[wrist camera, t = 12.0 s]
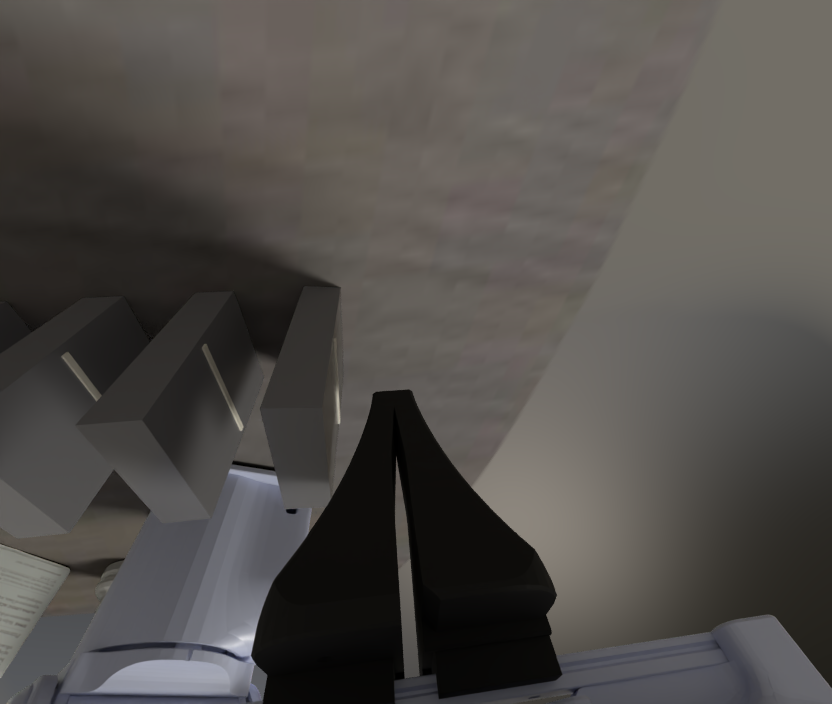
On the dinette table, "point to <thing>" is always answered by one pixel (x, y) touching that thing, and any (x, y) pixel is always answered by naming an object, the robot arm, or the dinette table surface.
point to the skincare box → (24, 597)
